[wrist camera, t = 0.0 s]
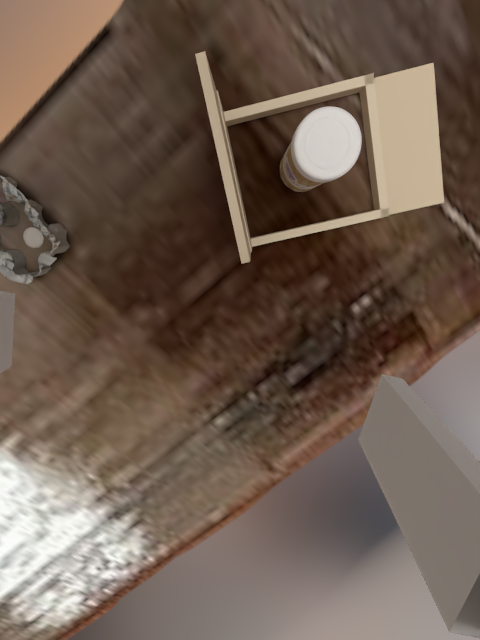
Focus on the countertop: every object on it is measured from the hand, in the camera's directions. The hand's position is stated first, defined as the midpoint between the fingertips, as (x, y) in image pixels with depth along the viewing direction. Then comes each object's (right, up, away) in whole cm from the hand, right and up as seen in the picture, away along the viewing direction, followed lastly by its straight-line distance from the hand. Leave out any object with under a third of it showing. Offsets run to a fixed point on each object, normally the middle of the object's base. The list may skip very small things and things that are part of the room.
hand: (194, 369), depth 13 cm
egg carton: (-22, +12, +27) cm, 37 cm away
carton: (+11, +18, +24) cm, 31 cm away
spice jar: (+8, +17, +24) cm, 31 cm away
